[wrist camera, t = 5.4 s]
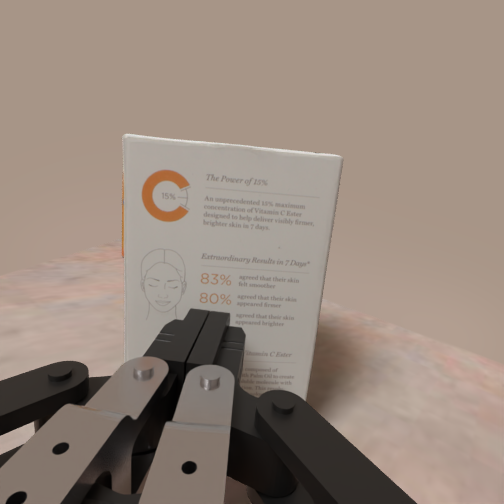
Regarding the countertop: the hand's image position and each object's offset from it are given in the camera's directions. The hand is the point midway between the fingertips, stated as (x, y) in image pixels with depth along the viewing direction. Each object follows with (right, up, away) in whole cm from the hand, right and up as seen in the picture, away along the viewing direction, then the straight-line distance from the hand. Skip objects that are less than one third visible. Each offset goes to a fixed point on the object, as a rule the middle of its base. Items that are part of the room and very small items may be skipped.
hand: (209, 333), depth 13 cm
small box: (0, -5, +6) cm, 8 cm away
